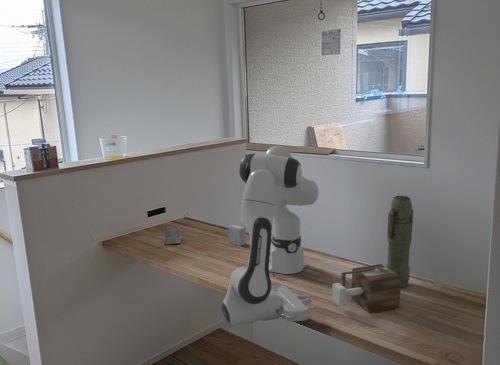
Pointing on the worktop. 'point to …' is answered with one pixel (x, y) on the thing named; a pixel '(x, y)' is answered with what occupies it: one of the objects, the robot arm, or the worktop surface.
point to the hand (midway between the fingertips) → (309, 299)
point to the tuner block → (377, 288)
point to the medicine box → (236, 235)
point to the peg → (341, 292)
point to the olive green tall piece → (400, 237)
